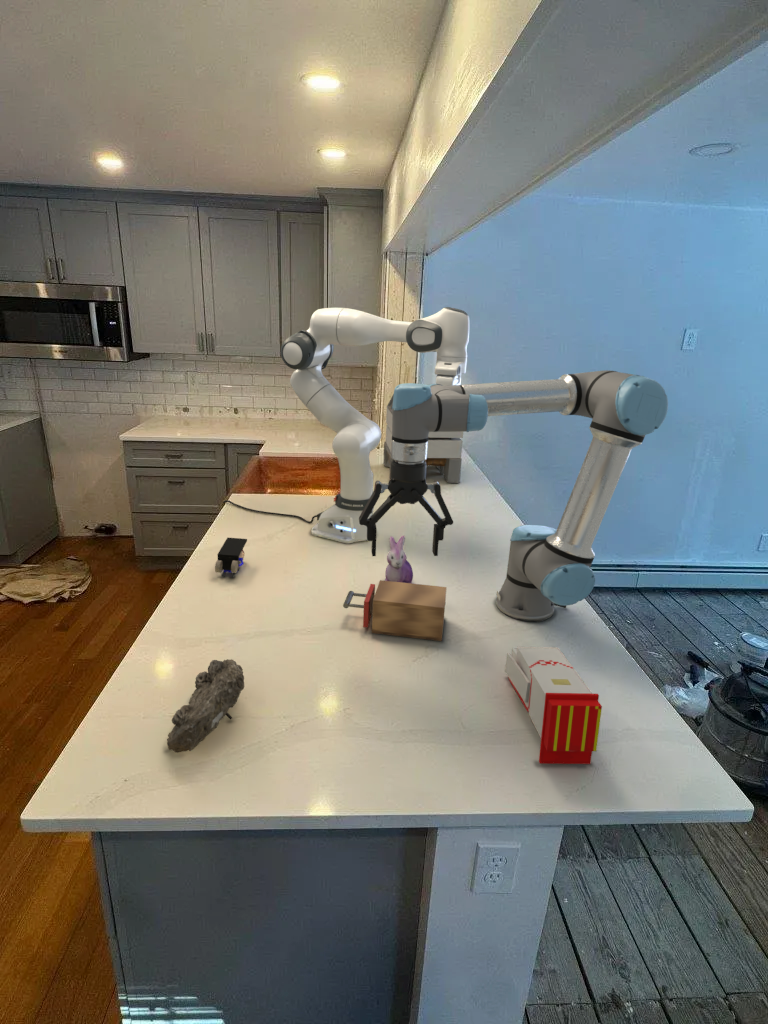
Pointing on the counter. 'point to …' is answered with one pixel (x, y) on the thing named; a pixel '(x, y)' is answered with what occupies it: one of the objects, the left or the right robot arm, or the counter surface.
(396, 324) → the left robot arm
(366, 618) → the drawer
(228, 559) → the figurine character
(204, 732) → the fossil
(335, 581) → the counter surface
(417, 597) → the cabinet
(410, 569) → the figurine
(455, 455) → the transformer
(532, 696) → the toy
